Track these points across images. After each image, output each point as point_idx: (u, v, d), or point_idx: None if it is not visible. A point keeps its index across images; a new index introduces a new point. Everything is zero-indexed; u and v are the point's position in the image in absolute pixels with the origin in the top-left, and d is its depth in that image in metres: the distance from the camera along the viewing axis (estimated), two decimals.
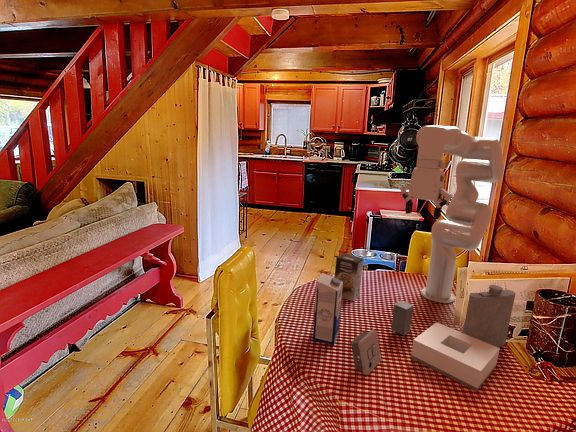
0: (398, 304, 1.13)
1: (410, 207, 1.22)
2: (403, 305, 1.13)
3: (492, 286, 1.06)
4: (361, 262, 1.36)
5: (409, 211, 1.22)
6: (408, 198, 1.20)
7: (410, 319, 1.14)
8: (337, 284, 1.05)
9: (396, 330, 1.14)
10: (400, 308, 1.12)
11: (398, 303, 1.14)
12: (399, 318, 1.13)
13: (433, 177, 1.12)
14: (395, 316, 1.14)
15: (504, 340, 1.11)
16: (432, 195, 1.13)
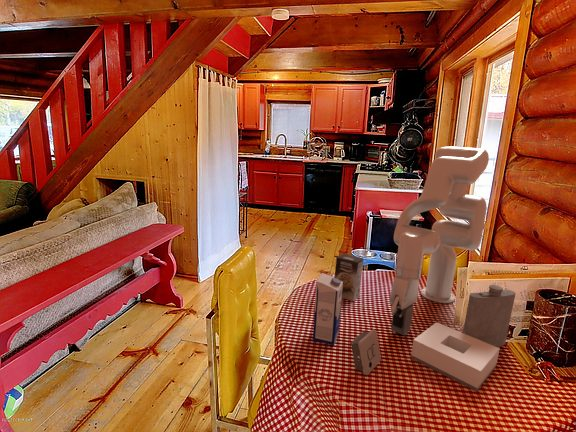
0: None
1: None
2: None
3: (492, 286, 1.06)
4: (361, 262, 1.36)
5: None
6: (402, 312, 1.11)
7: (410, 319, 1.14)
8: (337, 284, 1.05)
9: (396, 330, 1.14)
10: None
11: None
12: None
13: (418, 281, 1.12)
14: None
15: (504, 340, 1.11)
16: (416, 298, 1.14)
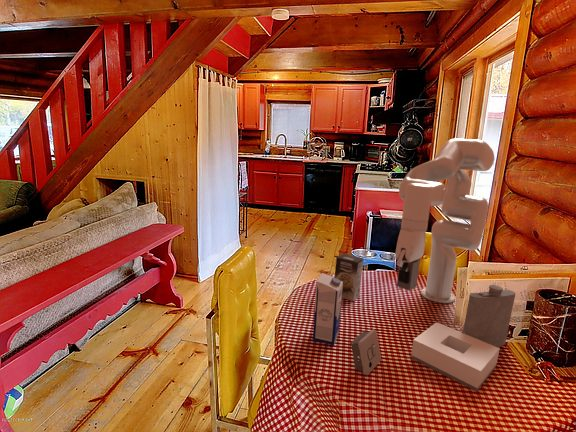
0: (404, 259, 1.10)
1: None
2: None
3: (492, 286, 1.06)
4: (361, 262, 1.36)
5: None
6: (408, 267, 1.07)
7: (416, 274, 1.10)
8: (337, 284, 1.05)
9: (402, 286, 1.11)
10: None
11: None
12: None
13: (424, 235, 1.09)
14: None
15: (504, 340, 1.11)
16: (422, 252, 1.10)
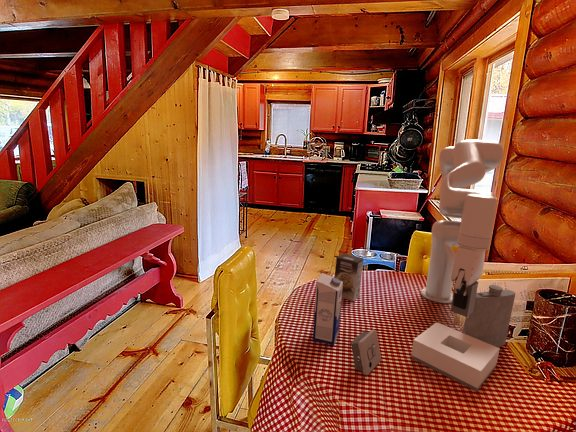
0: None
1: None
2: None
3: (492, 286, 1.06)
4: (361, 262, 1.36)
5: None
6: (467, 290, 0.93)
7: (474, 298, 0.96)
8: (337, 284, 1.05)
9: (457, 312, 0.96)
10: None
11: None
12: None
13: (484, 254, 0.94)
14: None
15: (504, 340, 1.11)
16: (481, 273, 0.96)
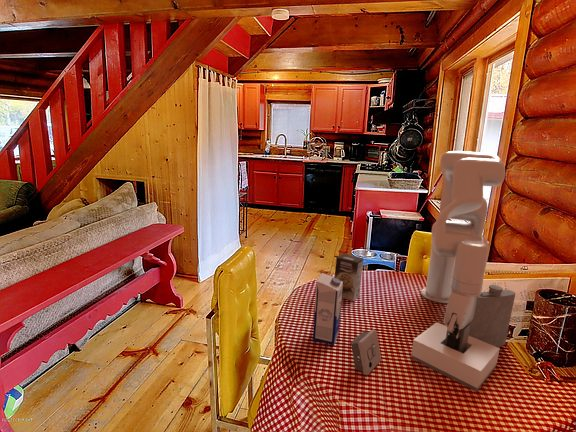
0: None
1: None
2: None
3: (492, 286, 1.06)
4: (361, 262, 1.36)
5: None
6: (459, 333, 0.96)
7: (466, 339, 0.99)
8: (337, 284, 1.05)
9: None
10: None
11: None
12: None
13: (476, 297, 0.97)
14: None
15: (504, 340, 1.11)
16: (473, 315, 0.99)
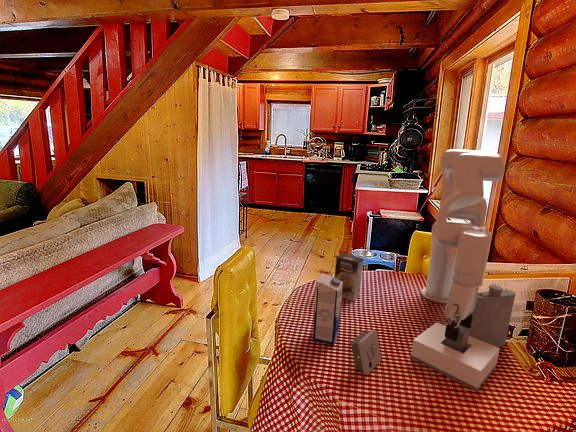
0: None
1: None
2: None
3: (492, 286, 1.06)
4: (361, 262, 1.36)
5: None
6: (458, 323, 0.94)
7: (465, 344, 0.99)
8: (337, 284, 1.05)
9: None
10: None
11: None
12: (454, 344, 0.98)
13: (478, 288, 0.97)
14: (448, 341, 0.99)
15: (504, 340, 1.11)
16: (474, 306, 0.99)
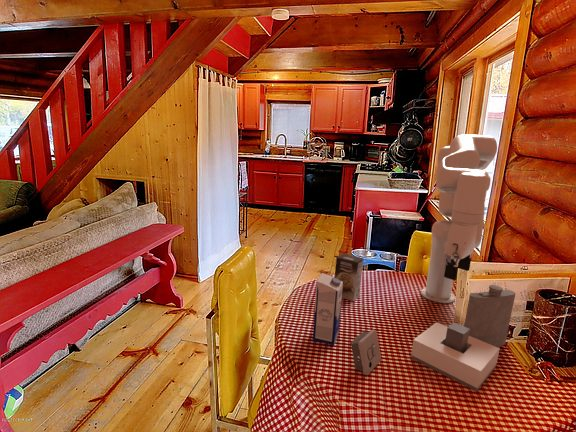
0: (452, 327, 0.99)
1: None
2: (457, 328, 0.99)
3: (492, 286, 1.06)
4: (361, 262, 1.36)
5: None
6: (457, 262, 0.97)
7: (465, 344, 0.99)
8: (337, 284, 1.05)
9: None
10: (455, 332, 0.97)
11: (452, 326, 1.00)
12: (454, 344, 0.98)
13: (476, 229, 1.00)
14: (448, 341, 0.99)
15: (504, 340, 1.11)
16: (473, 248, 1.02)
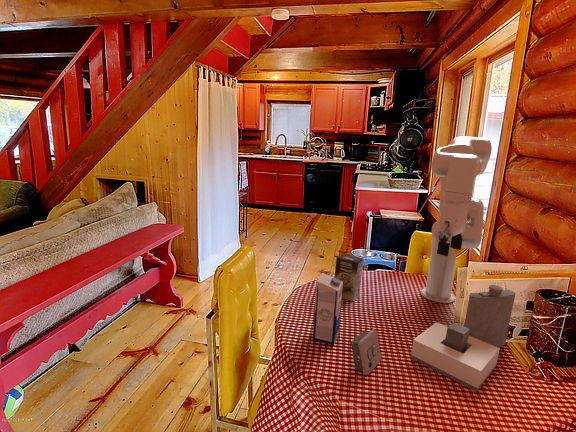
0: (452, 327, 0.99)
1: None
2: (457, 328, 0.99)
3: (492, 286, 1.06)
4: (361, 262, 1.36)
5: None
6: (449, 239, 1.04)
7: (465, 344, 0.99)
8: (337, 284, 1.05)
9: None
10: (455, 332, 0.97)
11: (452, 326, 1.00)
12: (454, 344, 0.98)
13: (467, 209, 1.07)
14: (448, 341, 0.99)
15: (504, 340, 1.11)
16: (464, 227, 1.09)
